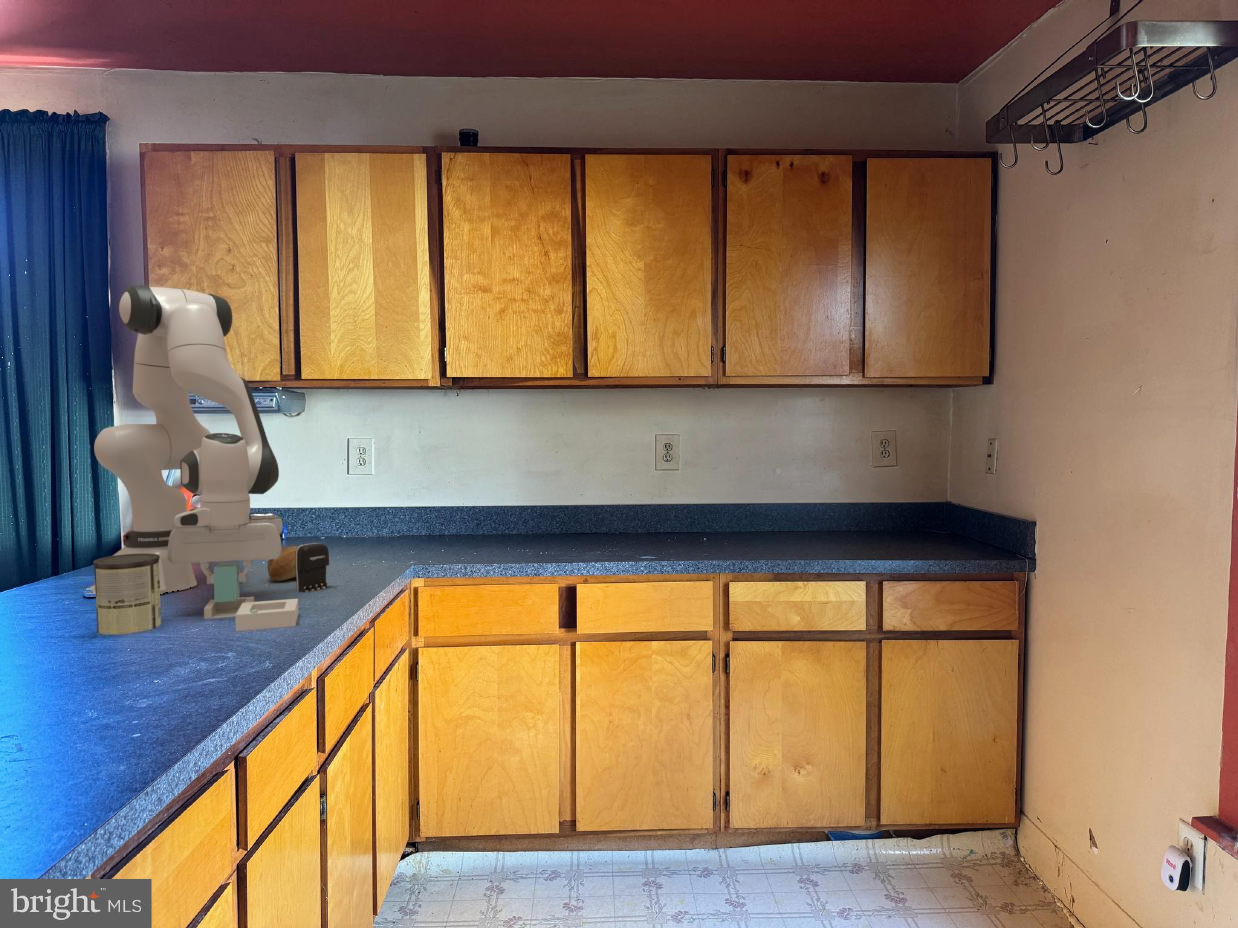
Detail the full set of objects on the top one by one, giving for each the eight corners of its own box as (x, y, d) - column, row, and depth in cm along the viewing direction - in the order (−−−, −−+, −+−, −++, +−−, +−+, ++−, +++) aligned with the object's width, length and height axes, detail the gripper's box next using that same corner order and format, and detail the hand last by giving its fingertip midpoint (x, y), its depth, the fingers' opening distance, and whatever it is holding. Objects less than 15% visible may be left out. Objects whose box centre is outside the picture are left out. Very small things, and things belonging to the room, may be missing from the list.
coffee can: (88, 633, 139) (85, 558, 138) (150, 622, 147) (147, 551, 146) (107, 644, 133) (104, 565, 132) (171, 631, 141) (168, 557, 140)
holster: (204, 623, 146) (203, 608, 146) (211, 614, 153) (210, 599, 153) (249, 620, 149) (249, 605, 148) (254, 610, 156) (254, 596, 156)
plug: (214, 602, 148) (213, 567, 148) (217, 597, 152) (217, 563, 152) (236, 600, 150) (236, 566, 149) (239, 596, 154) (239, 562, 153)
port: (236, 636, 137) (235, 612, 137) (243, 623, 146) (242, 600, 146) (295, 631, 140) (294, 608, 140) (298, 618, 150) (298, 596, 150)
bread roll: (255, 583, 184) (255, 551, 184) (292, 571, 199) (292, 541, 198) (291, 584, 182) (290, 552, 182) (325, 572, 197) (325, 542, 197)
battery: (304, 597, 168) (302, 546, 168) (294, 595, 170) (293, 545, 170) (332, 591, 174) (331, 543, 173) (323, 589, 176) (322, 541, 175)
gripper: (283, 511, 156) (284, 576, 157) (171, 514, 150) (173, 582, 150) (281, 515, 150) (282, 583, 151) (164, 518, 144) (166, 589, 144)
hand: (226, 582), depth 151 cm, fingers closed on plug, 4 cm apart
